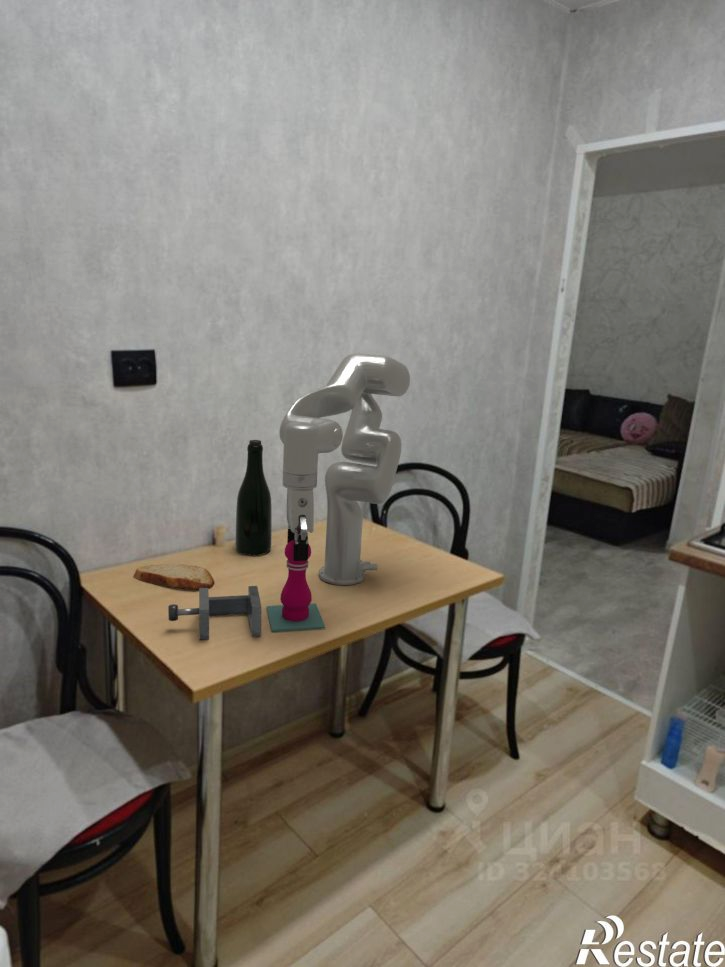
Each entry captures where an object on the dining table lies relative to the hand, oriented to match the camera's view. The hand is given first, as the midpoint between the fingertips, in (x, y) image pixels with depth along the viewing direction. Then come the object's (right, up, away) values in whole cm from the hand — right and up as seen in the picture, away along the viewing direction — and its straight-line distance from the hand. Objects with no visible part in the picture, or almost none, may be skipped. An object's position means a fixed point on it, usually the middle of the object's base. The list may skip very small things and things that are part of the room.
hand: (297, 552), depth 145 cm
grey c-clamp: (-18, -16, -1) cm, 25 cm away
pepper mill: (-1, -15, +4) cm, 16 cm away
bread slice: (-34, -10, +21) cm, 41 cm away
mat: (-1, -16, +4) cm, 16 cm away
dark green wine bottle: (-17, -4, +45) cm, 48 cm away
